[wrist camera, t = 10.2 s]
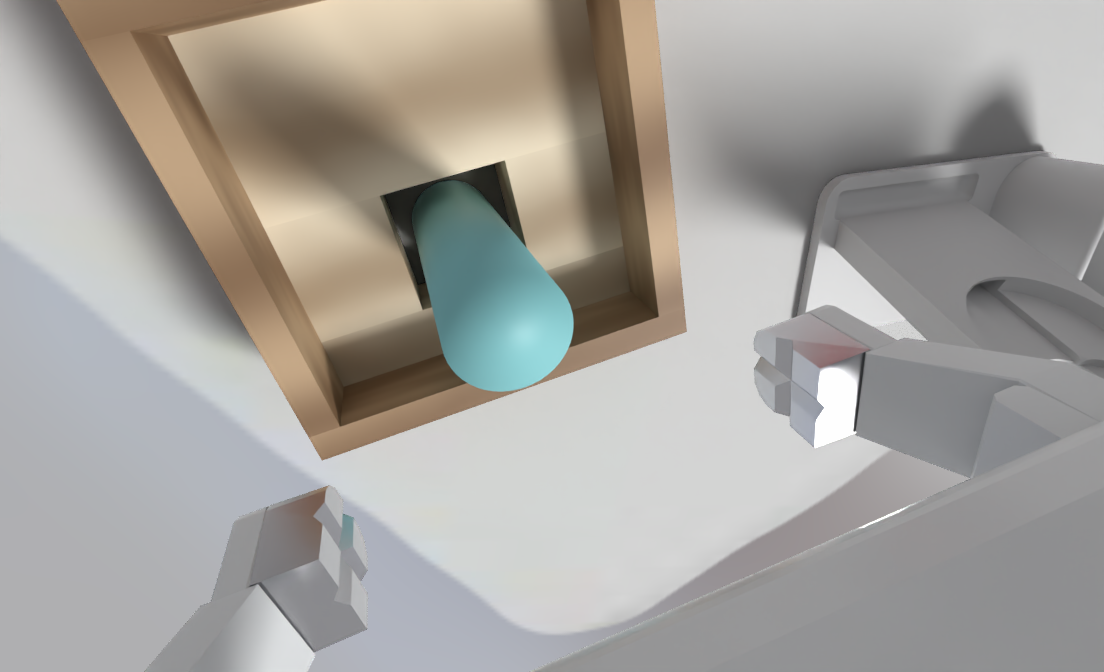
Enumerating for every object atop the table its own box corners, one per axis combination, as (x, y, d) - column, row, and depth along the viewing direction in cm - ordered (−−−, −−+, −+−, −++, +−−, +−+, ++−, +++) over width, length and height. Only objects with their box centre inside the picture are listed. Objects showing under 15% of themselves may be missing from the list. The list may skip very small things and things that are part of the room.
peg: (400, 192, 23) (421, 294, 13) (479, 170, 24) (559, 251, 14) (426, 267, 25) (464, 408, 15) (499, 245, 26) (583, 366, 15)
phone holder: (1057, 148, 33) (1643, 221, 18) (1001, 297, 38) (1427, 457, 23) (821, 177, 29) (1316, 303, 14) (791, 340, 34) (1136, 569, 19)
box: (139, 8, 18) (48, -13, 13) (575, -86, 21) (641, -135, 16) (332, 382, 26) (321, 460, 21) (630, 283, 29) (686, 331, 24)
